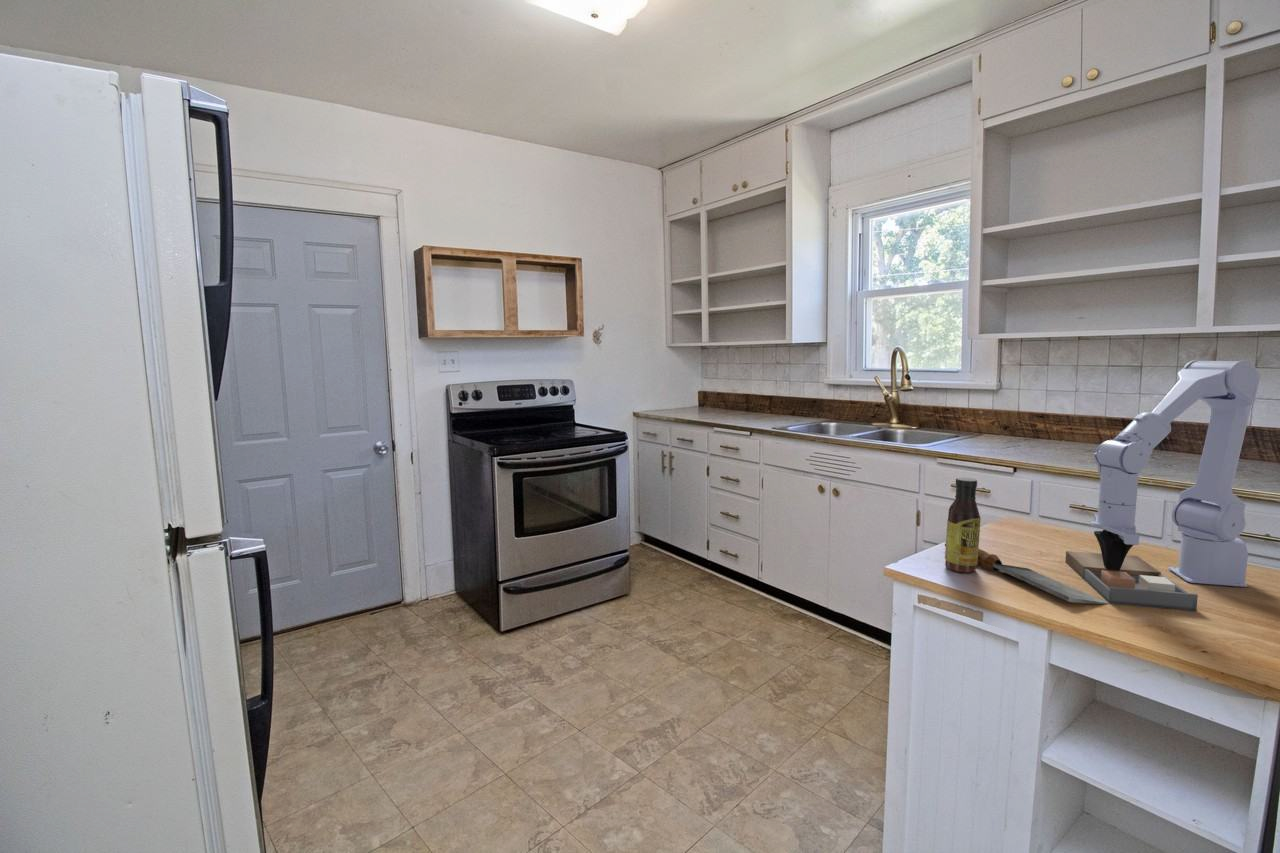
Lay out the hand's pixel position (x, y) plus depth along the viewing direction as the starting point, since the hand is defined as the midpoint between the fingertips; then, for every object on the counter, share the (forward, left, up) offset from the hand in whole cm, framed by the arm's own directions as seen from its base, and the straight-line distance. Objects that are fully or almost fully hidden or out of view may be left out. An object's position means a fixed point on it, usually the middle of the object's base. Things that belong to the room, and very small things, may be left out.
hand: (1112, 569), depth 119 cm
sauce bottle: (+26, -4, -4) cm, 27 cm away
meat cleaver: (+15, -4, -4) cm, 16 cm away
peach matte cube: (0, +3, 0) cm, 3 cm away
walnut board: (-3, -9, -4) cm, 10 cm away
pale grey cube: (-6, +4, 0) cm, 7 cm away
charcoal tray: (-3, +3, -4) cm, 6 cm away
